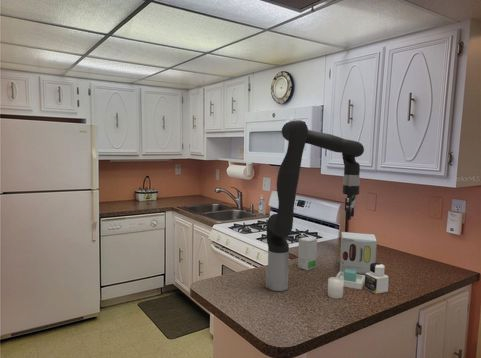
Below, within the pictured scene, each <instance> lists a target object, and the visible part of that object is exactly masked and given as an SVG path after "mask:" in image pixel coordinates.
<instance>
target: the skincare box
mask: <svg viewBox="0 0 481 358" xmlns="http://www.w3.org/2000/svg"><path fill="white" fill-rule="evenodd" d="M317 247H318V239H317V238H315V237H310V236H306V237H301V238H298V251H297V252H298V254H297V255H298V256H297V268H299V269H302V270H304V271H310V270H312V269H315V268H317V254H318V253H317V251H318V248H317Z"/></svg>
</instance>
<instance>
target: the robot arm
mask: <svg viewBox="0 0 481 358" xmlns="http://www.w3.org/2000/svg"><path fill="white" fill-rule="evenodd" d="M281 135H282V138H284V140H286V141H287V142H288V143H287V150H286V153H285V156H284V158H283V160H282V162H281V164H280V165H279V168H278V172H277V178H276V191H277V192H276V193H277V201H278V205H277V206H278V207H277V212H276V213H273V214H271V215H270V216H269V217H268V219H267V221H266V244H267V248H268V249H267V250H268V251H267V266H266V268H265V288H266V289H268V290H270V291H275V292H284V291H286V290H288V287H289V257H290V245H289V243H288V241H287V238H286V237H288V236H289V235H290V234H291V233H292V231H293V225H294V212H295V211H294V210H295V203H296V197H297V196H296V195H297V189H298V184H299V180H300V173H301V166H302V160H303V154H304V150H305V146H306V144H308V145H311V146H315V147H317V148H318V147H319V148H321V149H324V150H328V151H331V152H335V153H340V154H341V156H342V161H343V165H344V169H343V178H342V179H343V180H342V194H343V195H346V197H345V198H344V200H345V202H344V211H345V220H348V221H350V220H351V218H352V217H354V216H355V209H356V198H357V197H356V196H358V195H360V185H361V182H360V181H361V179H360V173H361V172H360V171H361V170H360V169H361V165H360V163H359V162H357V161H356V158H358V157H361V156H362V155H363V154H364V152H365V148H364V147H365V146H363V144H362V143H361V142H359V141H357V140H356V141H355V140H353V139H352V140H351V139H347V138H342V137H340V136H338V135H333V134H330V133H325V132H319V131H314V130H311V129H309V128H308V125H307V123H306V122H305V121H303V120H299V119H298V120H291V121H288V122H286V123H285V124H283V126H282V128H281Z"/></svg>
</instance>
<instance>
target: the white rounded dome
mask: <svg viewBox="0 0 481 358" xmlns="http://www.w3.org/2000/svg"><path fill="white" fill-rule="evenodd" d="M343 285H344V280H343V279H341V278H338V277H336V276H331V277H328V278H327V296H328V297H329V298H331V299H342V298H343V297H344V286H343Z"/></svg>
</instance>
